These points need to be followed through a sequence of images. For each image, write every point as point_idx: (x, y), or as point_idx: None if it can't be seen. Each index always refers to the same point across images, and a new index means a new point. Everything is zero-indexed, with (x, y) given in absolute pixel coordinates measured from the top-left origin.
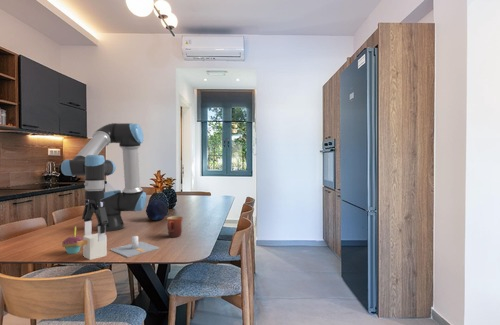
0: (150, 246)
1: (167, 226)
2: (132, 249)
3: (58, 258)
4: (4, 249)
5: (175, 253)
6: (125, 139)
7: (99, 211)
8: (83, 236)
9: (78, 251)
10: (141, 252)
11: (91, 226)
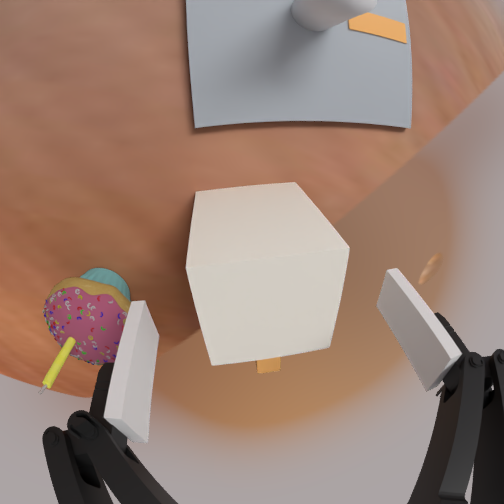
0: None
1: None
2: (326, 35)
3: (167, 338)
4: (16, 379)
5: (478, 5)
6: None
7: (486, 477)
8: (219, 363)
9: (118, 276)
10: (410, 49)
11: (129, 365)
